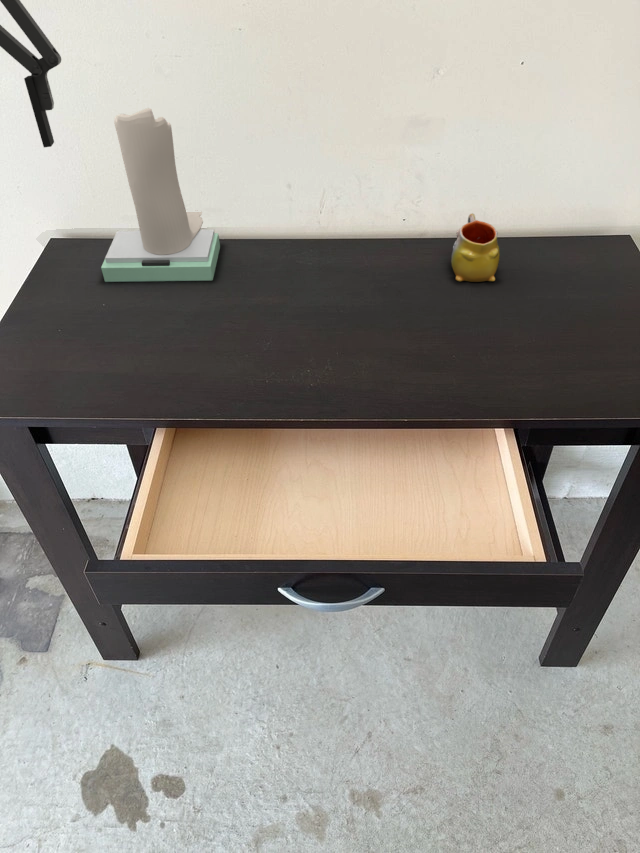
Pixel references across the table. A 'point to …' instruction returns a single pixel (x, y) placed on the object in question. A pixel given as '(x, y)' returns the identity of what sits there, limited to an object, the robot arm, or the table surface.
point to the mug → (475, 252)
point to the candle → (155, 183)
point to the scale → (160, 259)
